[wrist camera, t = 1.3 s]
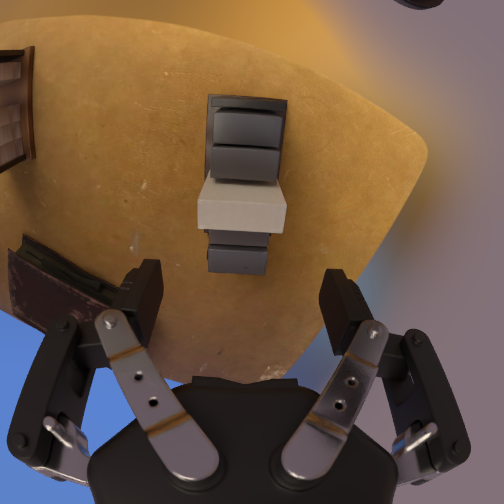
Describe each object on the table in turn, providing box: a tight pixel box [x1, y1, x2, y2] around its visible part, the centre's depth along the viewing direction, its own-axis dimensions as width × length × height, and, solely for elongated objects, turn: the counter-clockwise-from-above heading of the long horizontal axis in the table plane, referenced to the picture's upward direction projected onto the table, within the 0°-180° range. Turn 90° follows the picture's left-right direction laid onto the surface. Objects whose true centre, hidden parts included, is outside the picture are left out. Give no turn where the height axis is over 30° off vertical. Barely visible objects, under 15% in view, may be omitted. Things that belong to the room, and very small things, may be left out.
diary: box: [8, 234, 119, 370], centre depth 38 cm, size 19×25×5 cm
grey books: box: [204, 95, 287, 275], centre depth 26 cm, size 16×8×10 cm, turn 175°
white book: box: [198, 171, 287, 233], centre depth 24 cm, size 2×6×12 cm, turn 85°
